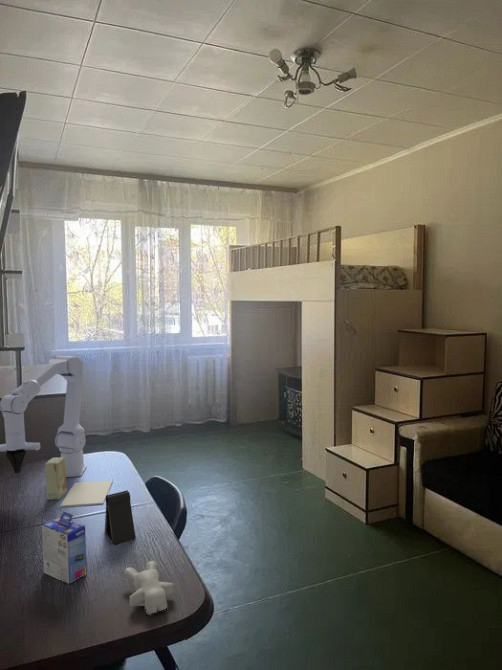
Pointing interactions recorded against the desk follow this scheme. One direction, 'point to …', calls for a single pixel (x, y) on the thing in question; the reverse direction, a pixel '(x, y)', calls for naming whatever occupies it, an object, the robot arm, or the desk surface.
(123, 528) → the phone stand
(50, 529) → the ink cartridge box
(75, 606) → the desk surface
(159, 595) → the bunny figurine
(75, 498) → the mat
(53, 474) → the skincare box
